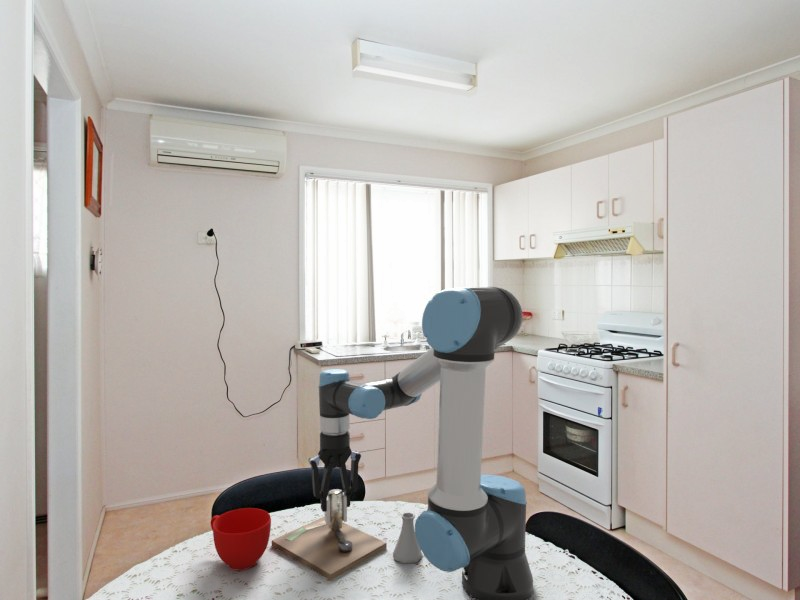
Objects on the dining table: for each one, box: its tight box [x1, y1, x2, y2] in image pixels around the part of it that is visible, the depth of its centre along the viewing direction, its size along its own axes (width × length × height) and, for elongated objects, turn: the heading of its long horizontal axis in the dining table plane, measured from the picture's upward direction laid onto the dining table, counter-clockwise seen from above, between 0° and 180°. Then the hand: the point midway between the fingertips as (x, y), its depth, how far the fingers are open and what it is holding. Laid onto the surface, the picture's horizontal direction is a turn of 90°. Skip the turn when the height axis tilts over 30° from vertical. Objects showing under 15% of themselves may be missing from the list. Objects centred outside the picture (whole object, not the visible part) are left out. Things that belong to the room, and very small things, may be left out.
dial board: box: [271, 515, 387, 582], centre depth 128 cm, size 22×18×2 cm
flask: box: [392, 511, 424, 564], centre depth 124 cm, size 7×7×10 cm
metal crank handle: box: [328, 488, 352, 552], centre depth 129 cm, size 16×4×10 cm, turn 20°
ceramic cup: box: [210, 507, 272, 571], centre depth 122 cm, size 13×17×10 cm
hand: (335, 520), depth 133 cm, fingers closed on metal crank handle, 4 cm apart
